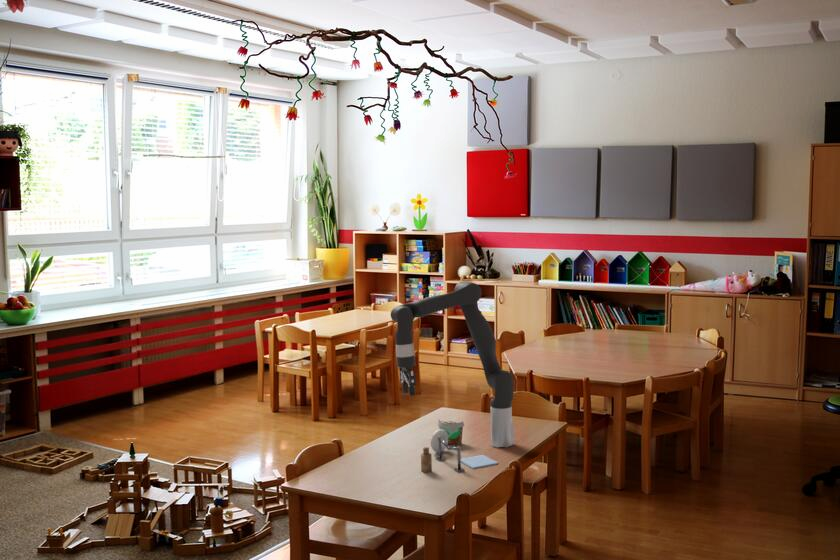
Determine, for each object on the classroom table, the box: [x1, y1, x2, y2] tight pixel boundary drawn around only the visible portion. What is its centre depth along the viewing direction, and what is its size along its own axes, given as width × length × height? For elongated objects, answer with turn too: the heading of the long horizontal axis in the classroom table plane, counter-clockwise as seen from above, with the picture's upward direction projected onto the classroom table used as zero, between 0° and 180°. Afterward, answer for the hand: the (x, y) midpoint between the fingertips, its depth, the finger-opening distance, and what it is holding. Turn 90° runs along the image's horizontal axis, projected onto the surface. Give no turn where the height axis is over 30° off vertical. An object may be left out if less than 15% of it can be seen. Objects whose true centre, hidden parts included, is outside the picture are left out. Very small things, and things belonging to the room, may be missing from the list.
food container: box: [436, 419, 465, 446], centre depth 348 cm, size 12×6×10 cm, turn 68°
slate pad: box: [461, 454, 499, 470], centre depth 323 cm, size 12×12×1 cm
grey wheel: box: [430, 428, 448, 454], centre depth 337 cm, size 10×4×10 cm, turn 139°
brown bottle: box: [420, 446, 433, 474], centre depth 313 cm, size 4×4×10 cm
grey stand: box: [435, 437, 465, 473], centre depth 320 cm, size 3×19×10 cm, turn 27°
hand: (409, 394), depth 322 cm, fingers open, 8 cm apart
